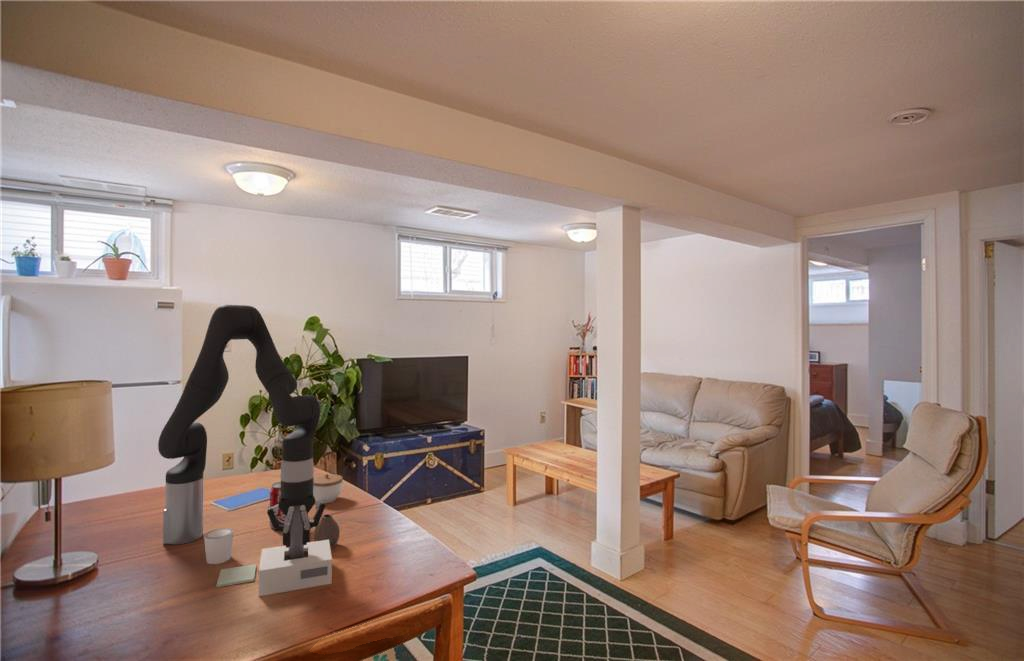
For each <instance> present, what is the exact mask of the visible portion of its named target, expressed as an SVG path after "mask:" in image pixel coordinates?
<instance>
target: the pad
mask: <svg viewBox="0 0 1024 661" xmlns="http://www.w3.org/2000/svg"><path fill="white" fill-rule="evenodd" d="M256 570H257V564H256V563H255V564H249V565H242V566H241V565H240V566H236V567H229V568H228V567H227V568H222V569H220V571H219V574H218V578H217V582H216V585H215V586H216V588H221V587H225V586H233V585H239V584H244V583H245V584H246V583H250V582H255V577H256Z"/></svg>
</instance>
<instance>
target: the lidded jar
mask: <svg viewBox="0 0 1024 661" xmlns="http://www.w3.org/2000/svg"><path fill="white" fill-rule="evenodd" d="M343 479H344V478H343V476H342V475H339V474H334V473H325V474H321V475H317V476H314V485H313V496H314V497H315V500H318V501H322V500H323V501H325V504H328V503H333V502H335V501H336V500H337V498H338V497H339V496H340V494H341V492H342V489H343Z"/></svg>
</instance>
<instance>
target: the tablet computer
mask: <svg viewBox="0 0 1024 661" xmlns="http://www.w3.org/2000/svg"><path fill="white" fill-rule="evenodd" d="M270 490H271V489H268V488H266V487H259V488H256V489H252V490H249V491H245V492H242V493H238V494H235V495H230V496H227V497H223V498H220V499H216V500H213V501H211V502H210V505H212V506H214V507H217V508H219V509H220V510H221V509H222V510H224V511H226V512H233V511H236V510H238V509H242V508H244V507H245V508H246V507H248V506H252V505H255V504H258V503H262V502H266V501H268V500H269V501H270Z"/></svg>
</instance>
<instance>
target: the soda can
mask: <svg viewBox="0 0 1024 661" xmlns="http://www.w3.org/2000/svg"><path fill="white" fill-rule="evenodd" d="M269 490H270V499H269V507H270V506H272V507H273V506H275V505H277V504H278V503H279V501H280V499H281V481H278V482H275V483H272V484H271V488H270V489H269ZM285 517H286V516H285V514H284V513H283V512H282V511H281V510H280V509H278V514H277V518H278V520H279V522H280V524H282V525H284V522H285ZM269 527H271V529H274V527H273V525H272V522H271V520H270V519H269ZM274 530H275V529H274Z"/></svg>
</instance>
